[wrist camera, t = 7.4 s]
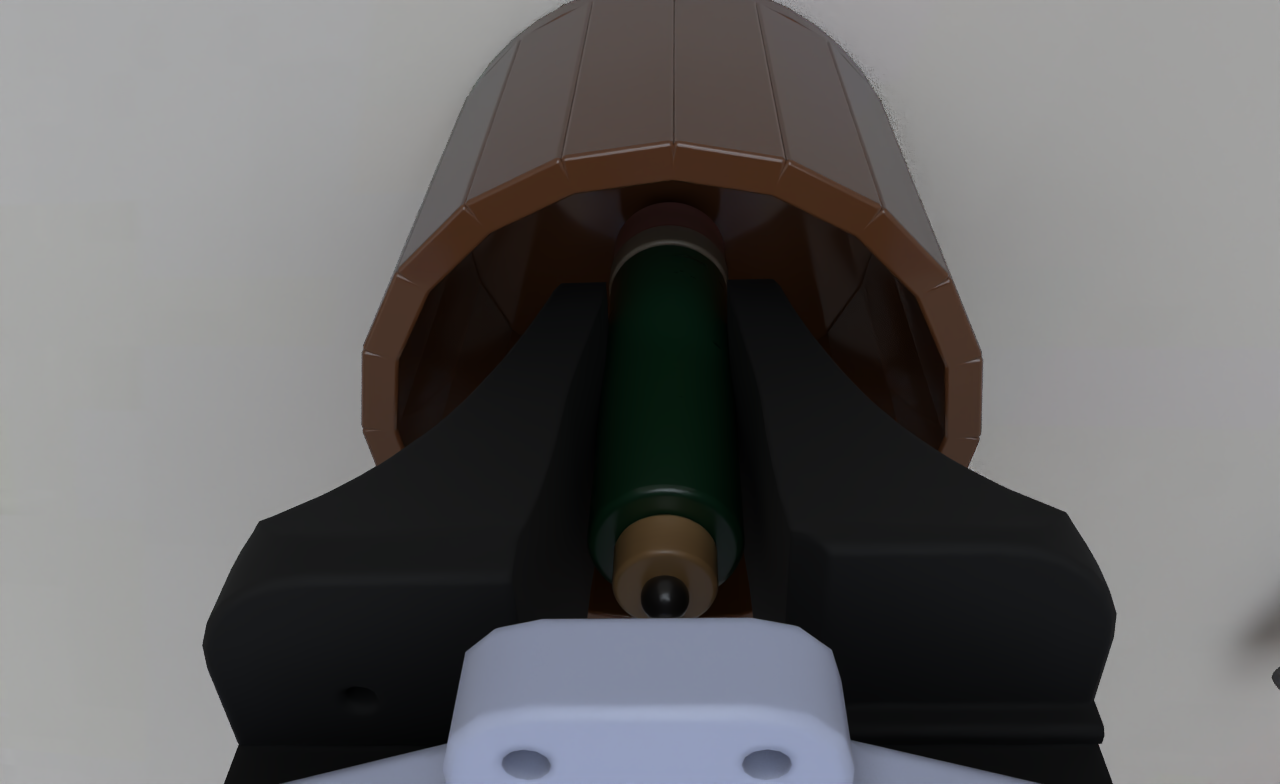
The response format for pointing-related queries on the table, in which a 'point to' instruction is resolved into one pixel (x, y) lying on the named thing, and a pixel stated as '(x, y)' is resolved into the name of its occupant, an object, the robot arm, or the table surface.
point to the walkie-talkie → (1276, 678)
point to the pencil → (667, 421)
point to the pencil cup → (683, 173)
